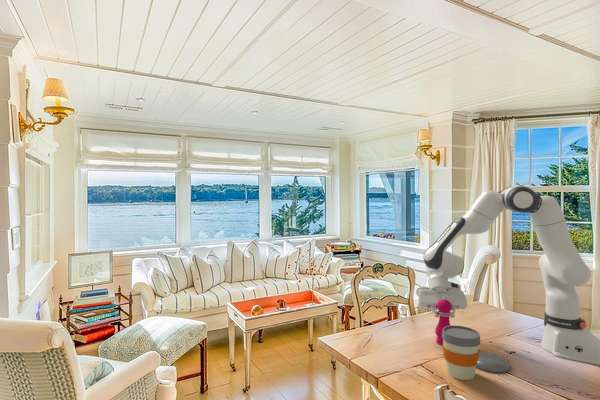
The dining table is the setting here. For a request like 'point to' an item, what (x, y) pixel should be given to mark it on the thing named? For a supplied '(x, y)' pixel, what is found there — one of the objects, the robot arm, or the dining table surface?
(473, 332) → the reusable coffee cup
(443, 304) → the pepper mill
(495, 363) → the plate
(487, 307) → the dining table surface
